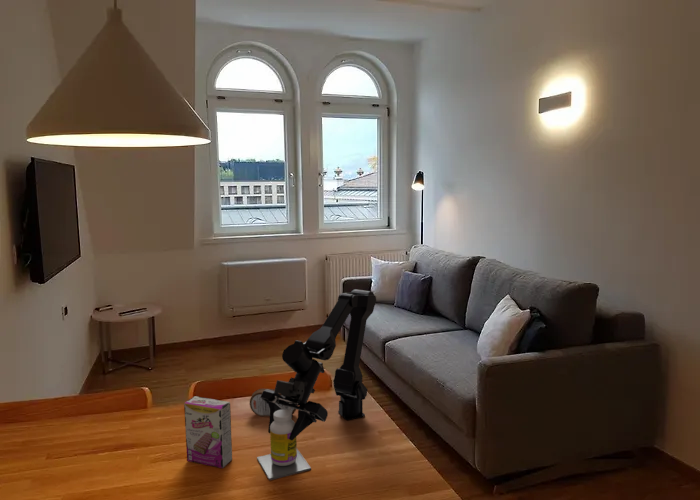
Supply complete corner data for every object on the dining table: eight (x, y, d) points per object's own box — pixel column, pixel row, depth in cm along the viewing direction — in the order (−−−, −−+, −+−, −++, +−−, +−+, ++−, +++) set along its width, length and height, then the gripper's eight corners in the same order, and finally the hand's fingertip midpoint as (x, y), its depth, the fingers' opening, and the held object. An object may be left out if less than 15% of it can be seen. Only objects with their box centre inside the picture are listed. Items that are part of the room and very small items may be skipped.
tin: (298, 414, 165) (298, 389, 164) (296, 419, 162) (296, 393, 161) (251, 412, 167) (250, 387, 166) (248, 417, 164) (248, 391, 163)
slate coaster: (296, 449, 144) (296, 447, 144) (311, 469, 134) (311, 467, 134) (257, 458, 140) (257, 457, 139) (269, 480, 130) (269, 478, 130)
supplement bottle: (289, 469, 133) (287, 421, 131) (266, 464, 135) (264, 416, 133) (301, 455, 139) (300, 409, 137) (279, 451, 141) (277, 405, 139)
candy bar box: (185, 462, 138) (182, 402, 136) (197, 452, 143) (194, 395, 141) (222, 469, 135) (220, 408, 132) (233, 459, 139) (231, 400, 137)
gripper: (263, 360, 142) (236, 415, 134) (320, 374, 132) (294, 434, 124) (283, 378, 149) (258, 431, 142) (338, 392, 140) (314, 450, 132)
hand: (279, 436), depth 135 cm, fingers closed on supplement bottle, 6 cm apart
